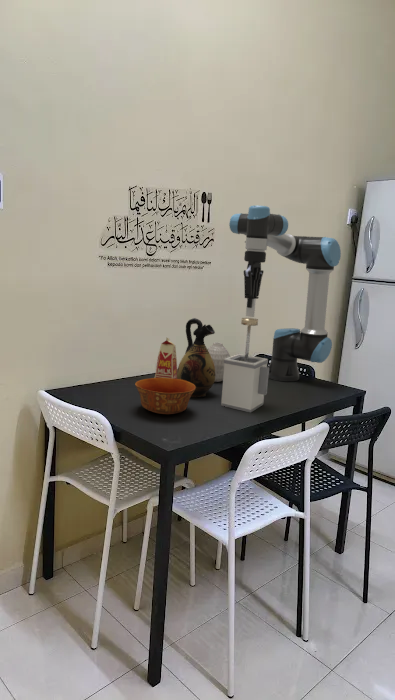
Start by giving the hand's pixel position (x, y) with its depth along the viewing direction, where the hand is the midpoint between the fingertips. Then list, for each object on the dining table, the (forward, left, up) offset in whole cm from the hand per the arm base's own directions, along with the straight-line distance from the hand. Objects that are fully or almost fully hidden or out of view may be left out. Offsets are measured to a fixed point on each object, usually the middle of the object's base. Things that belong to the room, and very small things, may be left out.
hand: (249, 316), depth 189 cm
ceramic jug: (-1, -22, -34) cm, 41 cm away
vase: (-26, -25, -34) cm, 50 cm away
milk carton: (-7, -39, -34) cm, 52 cm away
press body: (0, +1, -34) cm, 34 cm away
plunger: (0, 0, -22) cm, 22 cm away
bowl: (+25, -19, -34) cm, 46 cm away
